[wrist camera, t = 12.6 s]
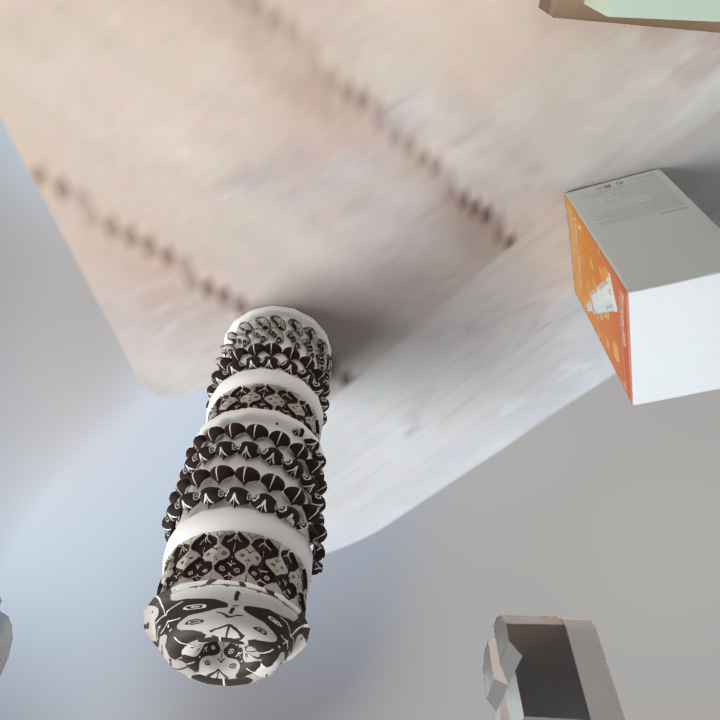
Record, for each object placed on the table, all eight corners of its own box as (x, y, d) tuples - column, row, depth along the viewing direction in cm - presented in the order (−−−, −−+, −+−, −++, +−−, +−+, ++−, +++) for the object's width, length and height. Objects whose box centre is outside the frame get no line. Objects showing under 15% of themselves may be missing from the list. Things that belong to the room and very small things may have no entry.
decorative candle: (361, 349, 51) (360, 657, 30) (285, 413, 55) (240, 724, 34) (270, 278, 47) (200, 575, 27) (195, 352, 51) (86, 660, 31)
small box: (561, 191, 43) (626, 291, 32) (660, 165, 42) (760, 260, 31) (572, 293, 48) (632, 409, 37) (662, 272, 46) (749, 385, 36)
